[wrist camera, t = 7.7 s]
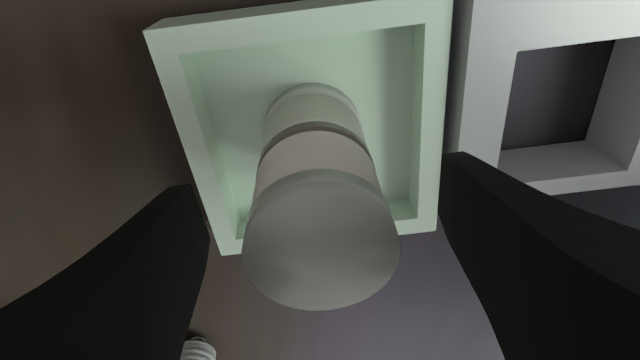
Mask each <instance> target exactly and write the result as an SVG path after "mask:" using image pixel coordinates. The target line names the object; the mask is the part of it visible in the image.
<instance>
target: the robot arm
mask: <svg viewBox="0 0 640 360" xmlns="http://www.w3.org/2000/svg"><path fill="white" fill-rule="evenodd" d="M438 214H439V217H440V220H441V223H442V226H443V228H444V231H445V234H446V236H447V239H448V241H449V243H450V245H451V247H452V249H453V251H454V253H455V255H456V257H457V259H458V261H459V262H460V264H461V266H462V268H463V270H464V272H465V274H466V276H467V277H468V279H469V281H470V283H471V285H472V287H473V289H474V291H475V292H476V294H477V296H478V298H479V300H480V302H481V304H482V306H483V308H484V310H485V312H486V314H487V316H488V318H489V320H490V323H491V325H492V328H493V330H494V333H495V335H496V338H497V340H498V343H499V345H500V348H501V350H502V353H503V355H504V358H505V360H640V230H637V229H634V228H631V227H628V226H625V225H622V224H619V223H616V222H613V221H610V220H608V219H605V218H603V217H600V216H597V215H595V214H592V213H590V212H587V211H584V210H582V209H579V208H577V207H574V206H572V205H570V204H567V203H565V202H563V201H561V200H558V199H556V198H554V197H552V196H550V195H548V194H545V193H543V192H541V191H539V190H537V189H535V188H533V187H531V186H529V185H527V184H525V183H523V182H521V181H519V180H517V179H516V178H514V177H512V176H510V175H508V174H506V173H504V172H503V171H501V170H499V169H497V168H495V167H493V166H492V165H490V164H488V163H486V162H484V161H482V160H481V159H479V158H477V157H475V156H473V155H471V154H469V153H467V152H464V151H461V152H452V153H444V154H442V158H441V172H440V185H439V198H438ZM209 244H210V236H209V233H208V230H207V227H206V225H205V222H204V219H203V216H202V214H201V211H200V208H199V205H198V202H197V200H196V197H195V194H194V191H193V189H192V186H191V184H187V185H179V186H171V187H169V188H167V189H166V190H164V191H163V192H162V193H161V194H159V195H158V196H157V197H156V198H154V199H153V200H152V201H151V202H150V203H148V204H147V205H146V206H145V207H144V208H142V209H141V210H140V211H139V212H138V213H137V214H135V215H134V216H133V217H132V218H131V219H129V220H128V221H127V222H126V223H125V224H123V225H122V226H121V227H120V228H119V229H117V230H116V231H115V232H114V233H112V234H111V235H110V236H109V237H107V238H106V239H105V240H103V241H102V242H101V243H100V244H98V245H97V246H96V247H94V248H93V249H92V250H91V251H89V252H88V253H87V254H85V255H84V256H83V257H81V258H80V259H79V260H77V261H76V262H74V263H73V264H72V265H70V266H69V267H67V268H66V269H64V270H63V271H61V272H60V273H58V274H57V275H55V276H54V277H52V278H51V279H49V280H48V281H46V282H45V283H43V284H42V285H40V286H38V287H37V288H35V289H33V290H32V291H30V292H28V293H27V294H25V295H23V296H21V297H20V298H18V299H16V300H15V301H13V302H11V303H10V304H8V305H6V306H4V307H3V308H1V309H0V360H180V359H181V354H182V350H183V346H184V342H185V338H186V334H187V331H188V328H189V324H190V321H191V318H192V314H193V311H194V308H195V304H196V301H197V298H198V294H199V291H200V287H201V284H202V280H203V277H204V273H205V270H206V265H207V258H208V252H209Z"/></svg>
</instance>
